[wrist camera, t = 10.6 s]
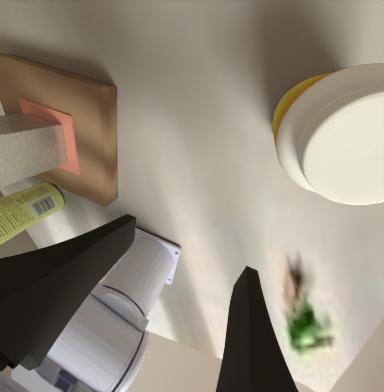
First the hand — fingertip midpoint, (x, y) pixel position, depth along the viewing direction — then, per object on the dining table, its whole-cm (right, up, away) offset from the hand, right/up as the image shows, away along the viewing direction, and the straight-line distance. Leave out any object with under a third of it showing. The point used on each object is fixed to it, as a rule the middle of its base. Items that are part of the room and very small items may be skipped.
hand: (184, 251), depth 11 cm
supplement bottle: (+10, +10, +3) cm, 14 cm away
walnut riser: (-15, +11, +12) cm, 23 cm away
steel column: (-16, +10, +10) cm, 21 cm away
